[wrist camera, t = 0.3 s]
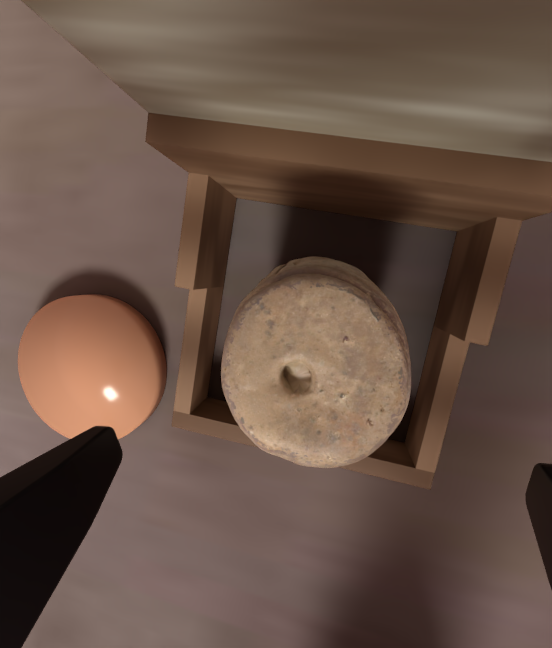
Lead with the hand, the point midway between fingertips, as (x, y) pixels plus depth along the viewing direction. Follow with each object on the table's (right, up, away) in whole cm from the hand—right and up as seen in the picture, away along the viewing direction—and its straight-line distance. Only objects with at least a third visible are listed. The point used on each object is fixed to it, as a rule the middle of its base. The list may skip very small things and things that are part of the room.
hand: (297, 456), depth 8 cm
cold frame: (+2, +3, +14) cm, 15 cm away
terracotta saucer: (-13, 0, +17) cm, 21 cm away
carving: (+2, +3, +14) cm, 15 cm away
